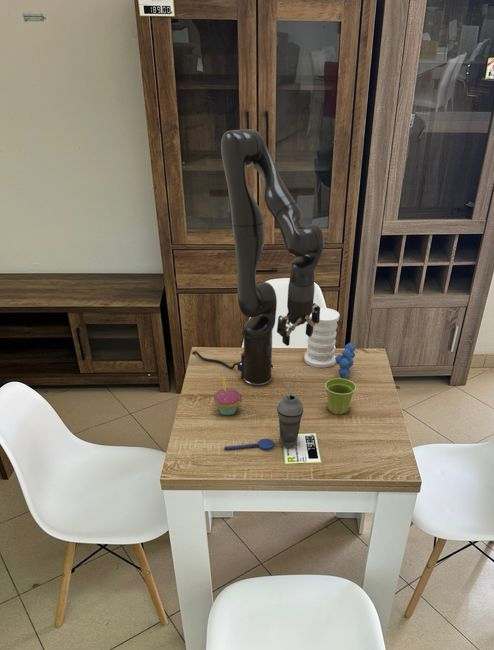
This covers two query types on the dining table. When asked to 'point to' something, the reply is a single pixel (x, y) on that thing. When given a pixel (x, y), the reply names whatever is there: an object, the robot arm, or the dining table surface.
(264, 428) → the dining table surface
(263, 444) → the spoon
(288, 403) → the beverage cup
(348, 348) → the grapes
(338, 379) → the plant pot
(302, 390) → the dining table surface
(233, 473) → the dining table surface
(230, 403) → the cupcake
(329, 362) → the decorative container
